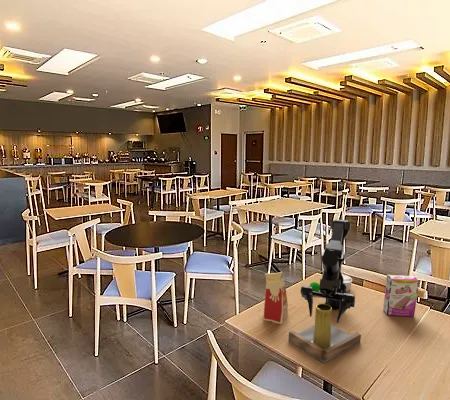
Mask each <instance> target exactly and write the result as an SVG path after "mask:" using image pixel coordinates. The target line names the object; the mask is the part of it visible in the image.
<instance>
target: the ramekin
mask: <svg viewBox="0 0 450 400" xmlns="http://www.w3.org/2000/svg"><path fill="white" fill-rule="evenodd" d="M341 274H342V276H343V279H344V283H345V285H346V292H348V291H350V289H351V288H352V283H353V278H352V277H351V276H349V275H347V274H343V273H341Z"/></svg>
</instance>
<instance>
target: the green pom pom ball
mask: <svg viewBox="0 0 450 400" xmlns="http://www.w3.org/2000/svg"><path fill="white" fill-rule="evenodd" d="M319 285H320V283H318V282H317V281H314V282H311V283H310V284H309V287H312V288H313V290H314V291H319V292H320V290H319Z"/></svg>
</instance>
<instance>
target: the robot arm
mask: <svg viewBox="0 0 450 400" xmlns="http://www.w3.org/2000/svg"><path fill="white" fill-rule="evenodd" d="M329 226H330V227H329V228H330V230H331V237H330V241H329V242H328V243H326V246H325V247H324V248H325V249H323V251H322V254H321V265H322V269H323V270H322V275H321V279H319V291H314V290H313V288H312V287H310V285H309V286H307V285H302V286H301V287H300V295H301V297H302V298H304V300H305V301H307V304H308V310H309V317H310V318H311V317H312V315H313V305H314V299H313V298H314V297H317V298H322V299H325V302H322V304H328V305H330V306H331V307H332V311H338V310H339V311H338V315H337V319H336V323H337V324H338V323H340V320H341V319H342V317H343V316H344V314H345V313H346V311H347V310H350V309H351V308H355V306H356V305H355V304H356V296H355V295H354V294H352V293H347V291H346V285H345V283H344V279H343V276H342V274H343V273H342V264H343V263H344V262H345V261H346V257H347V256H346V254H345V253H346V252H344V245H345V240H346V239H347V237H348V236H349V232H351V230H352V229H351V227H352V222H350V221H349V220H345V219H333V220H330V225H329Z"/></svg>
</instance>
